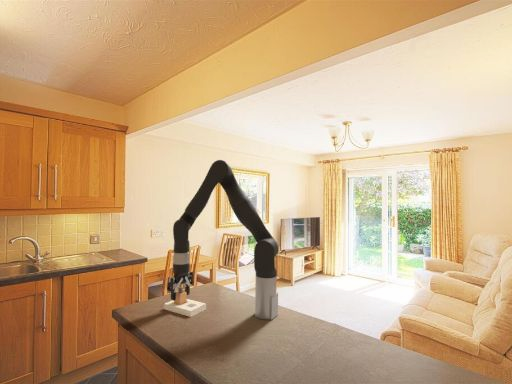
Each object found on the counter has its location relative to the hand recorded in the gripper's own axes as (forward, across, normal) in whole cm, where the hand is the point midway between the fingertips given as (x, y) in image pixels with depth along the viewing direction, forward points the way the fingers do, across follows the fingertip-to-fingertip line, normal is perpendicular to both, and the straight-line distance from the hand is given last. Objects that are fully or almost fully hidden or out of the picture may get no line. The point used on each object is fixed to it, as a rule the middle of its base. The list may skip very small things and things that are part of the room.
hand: (180, 297), depth 129 cm
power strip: (+5, 0, -3) cm, 6 cm away
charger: (+5, 0, 0) cm, 5 cm away
